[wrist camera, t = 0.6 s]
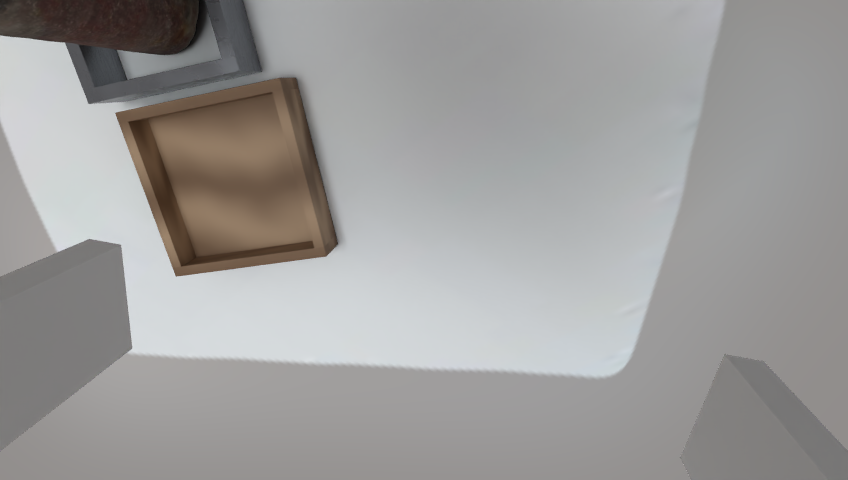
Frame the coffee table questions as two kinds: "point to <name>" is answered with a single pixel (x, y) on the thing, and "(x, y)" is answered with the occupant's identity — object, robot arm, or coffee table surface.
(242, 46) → the collar
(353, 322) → the coffee table surface
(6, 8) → the rusty brown cylinder
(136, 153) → the tray
